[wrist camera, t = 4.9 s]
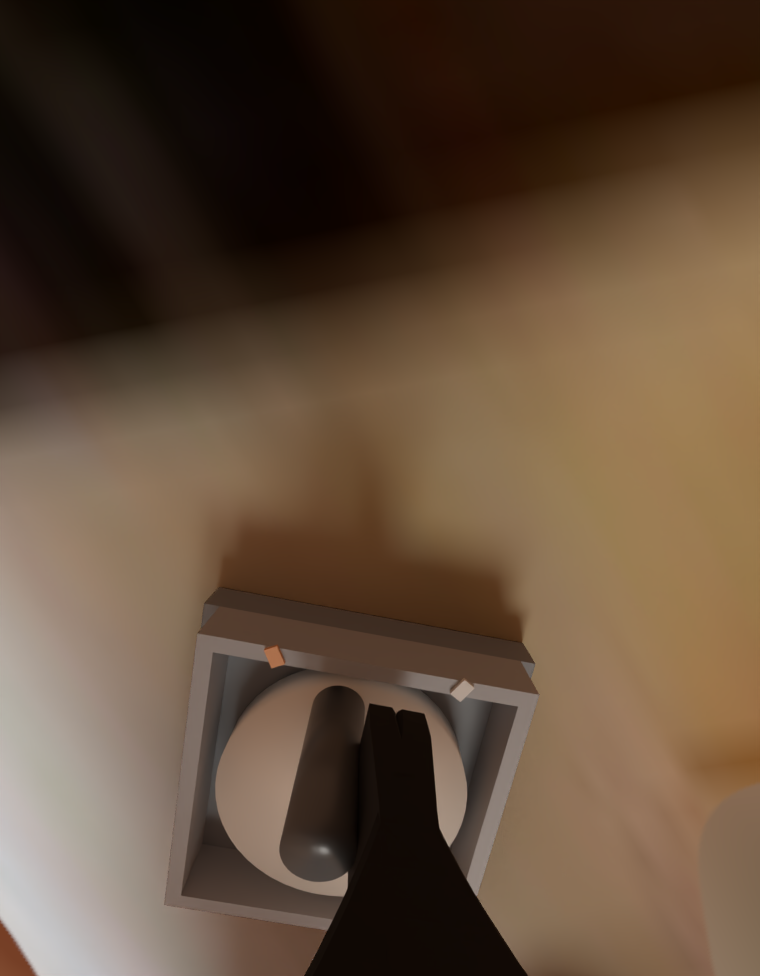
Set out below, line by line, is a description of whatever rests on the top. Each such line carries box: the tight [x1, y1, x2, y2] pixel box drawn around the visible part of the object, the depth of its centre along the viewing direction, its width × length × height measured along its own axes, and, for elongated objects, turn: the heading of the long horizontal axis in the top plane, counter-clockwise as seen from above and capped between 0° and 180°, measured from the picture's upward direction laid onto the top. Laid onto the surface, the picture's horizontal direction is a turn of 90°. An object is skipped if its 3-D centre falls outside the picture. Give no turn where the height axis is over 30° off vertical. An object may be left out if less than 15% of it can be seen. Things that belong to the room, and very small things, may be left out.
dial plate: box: [164, 587, 539, 931], centre depth 14 cm, size 10×11×3 cm
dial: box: [215, 669, 467, 896], centre depth 11 cm, size 8×8×5 cm
